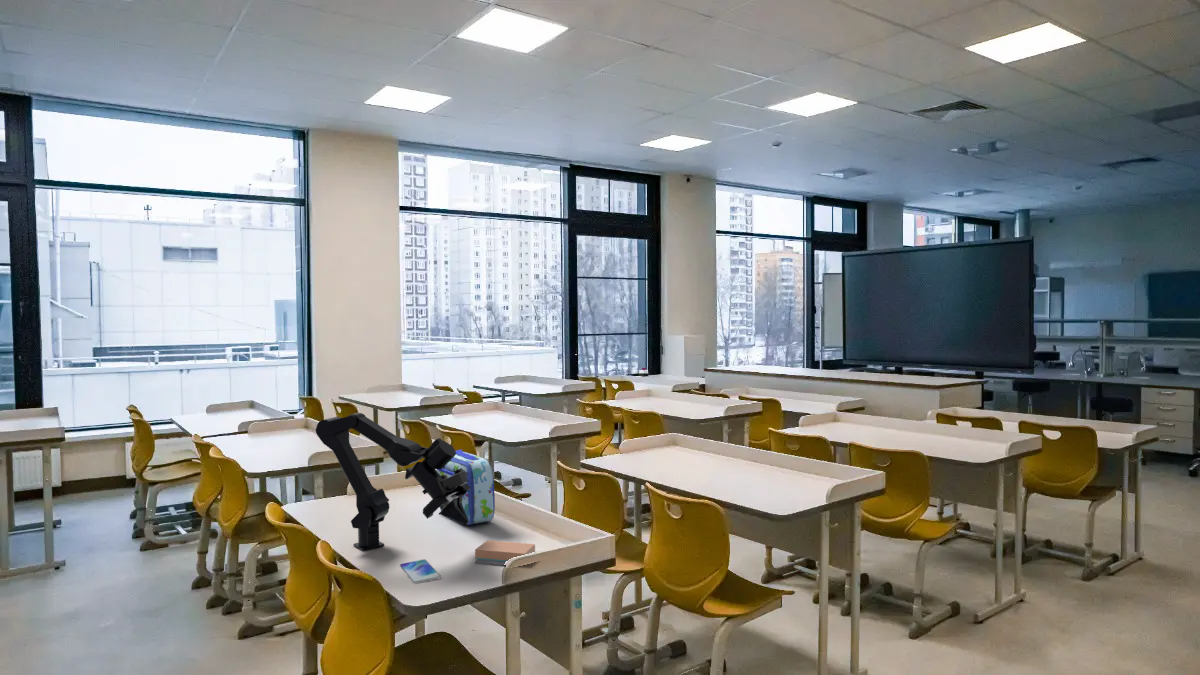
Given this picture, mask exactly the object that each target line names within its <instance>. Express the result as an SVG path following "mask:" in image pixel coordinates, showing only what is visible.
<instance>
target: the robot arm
mask: <svg viewBox="0 0 1200 675" xmlns="http://www.w3.org/2000/svg"><path fill="white" fill-rule="evenodd" d="M349 430H354V431H356V432H358V433H359V434H361V435H362V436H363V437H365V438H367V439H368V440H370V441H371V442H373V443H375V444H376V445H377V446H379V447H381V448H382V449H383V450H385V451H386V452H387V454H388V455H389V457H390V459H392V461H394V462H395V463H396V464H397V465H399V466H401V467H406V466H409V465H412V464H414V463H415V464H414V465H412V467H408V468H406V469H405V475H404V479H405V480H408V479H410V478H414V479H415V480H416V482H418V483H419V484H418V485H420V486H421V488H422V489H423V490H422V491H421V492H422V493H423V495H426V494H427V495H429V497H430V498H431V500H430V501H429V502H428V503H427V504H426V505H425V506H424V507H423V509H422V514H423V515H424V517H425V518H426V519H430V518H431V517H433V516H434V513H436V512H437V510H438V509H439V510H440V509H441V510H442V511H441V510H440V512H439V513H438V515H439V516H444V517H446V518H449V519H452V520H454V521H456V522H458V523H460V524H463V525H467V523H468V522H469V520H468V518H467V515H466V513H465V511H464V508H463V505H462V497H463V496H464V495H465V494H466V493H467V492H468V491H469V490H470V489H471V487H470V486H469V485H468V484H467V483H464V482H468V479H467V475H468V473H467V472H465V470H463V469H462V468H460V469H458V470H456V471H455V472H454V475H452V476H450V477H447V476H446V475H444V474H443V475H440V474H439V473H438V472H437V469H442V468H443V467H444V466H445V465H446V464H447V463H448V462H449V461H450V460H451V459H452V458H453V457H454V456H455V455H456V451H457V450H456V449H455V448H454V446H453V445H452V444H450V443H449V442H447V441H445V440H443V439H442V438H441V437H438V438H436V439H435V440H434V441H433V442H432V444H431V445H430V446H429V447H425V446H421V444H419V443H418V442H416V441H414V440H411V439H408V438H404V437H399V436H397V435H395V434H393V433H392V432H390V431H389V430H387V429H386V428H384V427H383V426H381V425H380V424H378V423H377V422H375V421H373V420H372V419H370V418H368V417H367V416H366V415H365V414H364V413H362V412H355V413H351V414H349V415H348V416H345V417H340V416H334V417H329V418H324V419H322V420H319V421H318V423H317V424H316V427H315V434H316V436H317V437H318V439H319V440H320V441H321V443H322V444H323V445H324V446H326V447H327V448H328V449H330V450H331V452H333V454H334V455H335V458H336V459H337V461H338V463H339V465H340V467H341V469H342V471H343V473H344V475H345V477H346V479H347V480H348V482H349V484H350V486H351V488H352V490H353V492H354V493H355V495H356V497H355V499H356V500H355V503H356V506H355V507H356V509H357V514H355V516H354V517H353V518H352V519H351V520H350V523H351V526H352V529H357V536H358V537H357V538H358V539H357V542H355V543H353V544H352V545H353V546H354V547H355V548H357V549H359V550H361V551H368V550H372V549H374V548H375V549H376V548H381V547H383V546H385V543H384V542H382V541H380V523H381V522H384V520H385V517H386V516H387V515H388V513H389V509H390V508H391V507H390V502H389V501H390V499H389V498H388V497H387V496H386V492H385V490H384V489H383V488H380V489H377V488H375V487H374V486H373V485H372V483H371V481H370V479H369V477H368V475H367V474H366V471H365V470H364V467H363V466H362V464H361V463H360V460H359V459H358V456H357V455H356V452H355V451H354V449H353V447H352V445H351V444H350V431H349ZM422 459H423V460H422ZM420 460H422V461H420Z"/></svg>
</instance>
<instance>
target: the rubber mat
mask: <svg viewBox="0 0 1200 675" xmlns="http://www.w3.org/2000/svg"><path fill="white" fill-rule="evenodd" d="M505 562H506V561H495V560H484V559H476V560H475V561H474V564H477V565H479V564H480V565H487V564H493V565H492V566H501V567H502V566H503V565H504V564H505ZM503 567H504V566H503Z"/></svg>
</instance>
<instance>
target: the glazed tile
mask: <svg viewBox="0 0 1200 675" xmlns="http://www.w3.org/2000/svg"><path fill="white" fill-rule="evenodd" d="M532 552H535V553H536V544H535V543H526V542H512V541H499V540H486V541H485V542H483V543H482V544H481V545H479V546H478V547H477V548H475V549H474V553H475V554H474V558H475V559H476V560H477V559H484V560H495V561H508V560H509V559H511V558H513V557H517V556H521V555H525V554H529V553H532Z"/></svg>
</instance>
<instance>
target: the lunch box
mask: <svg viewBox="0 0 1200 675" xmlns="http://www.w3.org/2000/svg"><path fill="white" fill-rule="evenodd" d="M455 451H456V455H455V456H454V457H453V458H452V459H451V460H450V461H449V462H448V463H447V464H446V465H445V466H444V467H443V468H442V469H436V470H437V472H438V473H439V474H440V475H443V474H444V475H446V476H447V477H450V476H452V475H454V472H455V471H456V470H458V469H460V468H462V469H463V470H465V472H467V473H468V475H467V479H468V482H464V483H467V484H468V485H469V486H470V487H471V489H470V490H469V491H468V492H467V493H466V494H465V495H464V496H463V497H462V505H463V508H464V511H465V513H466V515H467V518H468V520H469V522H468V523H467V524H466V525H467V526H470V525H475V524H480V523H485V522H491V521H492V520H493V519H494V517H495V508H496V505H495V501H496V500H495V481H494V474H493V470H492V467H491V464H490V462H489V461H488V460H487V459H485V458H483V457H481V456H479V455H475V454H473V453H470V452H465V451H463V449H458V450H455ZM439 510H440V512H441V511H442V510H441V509H440V508H439Z"/></svg>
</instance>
